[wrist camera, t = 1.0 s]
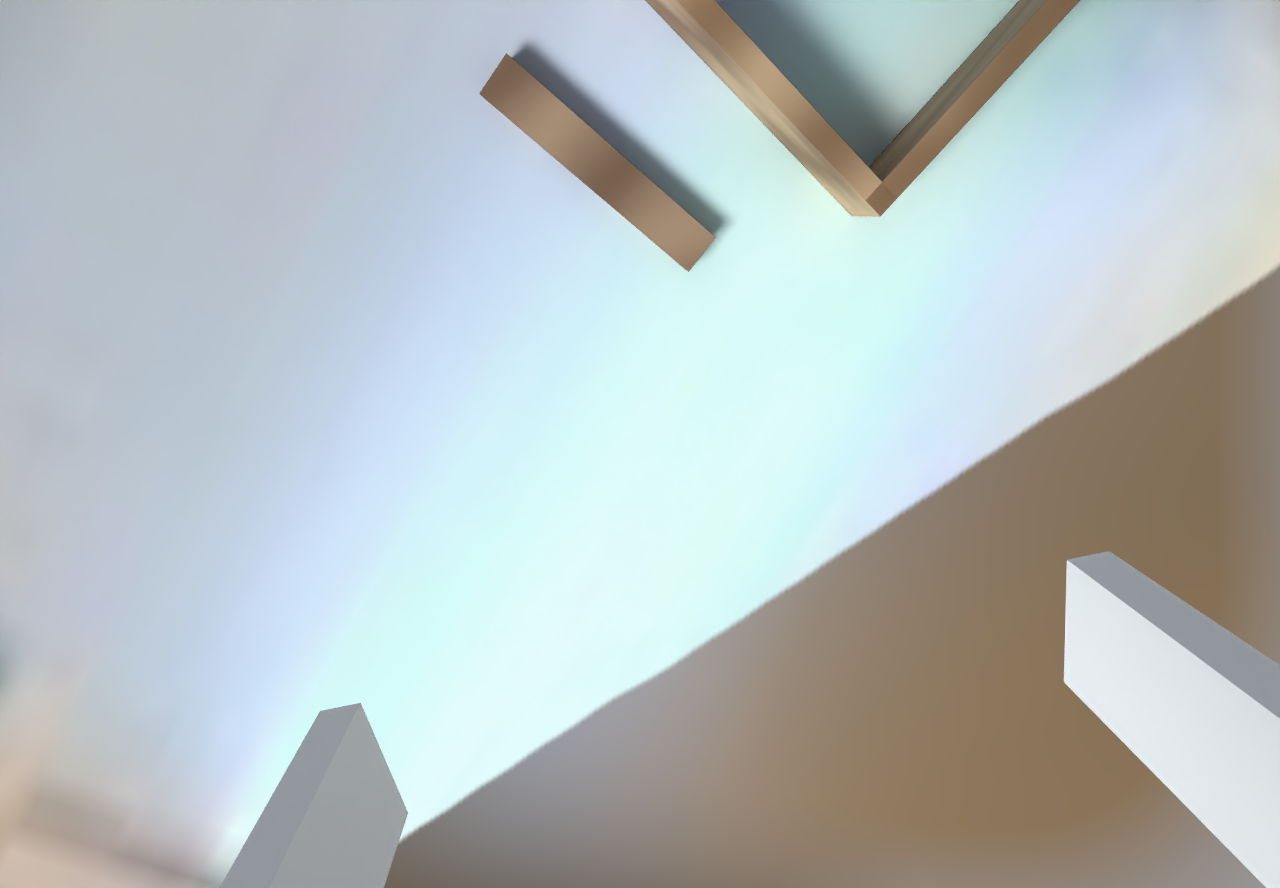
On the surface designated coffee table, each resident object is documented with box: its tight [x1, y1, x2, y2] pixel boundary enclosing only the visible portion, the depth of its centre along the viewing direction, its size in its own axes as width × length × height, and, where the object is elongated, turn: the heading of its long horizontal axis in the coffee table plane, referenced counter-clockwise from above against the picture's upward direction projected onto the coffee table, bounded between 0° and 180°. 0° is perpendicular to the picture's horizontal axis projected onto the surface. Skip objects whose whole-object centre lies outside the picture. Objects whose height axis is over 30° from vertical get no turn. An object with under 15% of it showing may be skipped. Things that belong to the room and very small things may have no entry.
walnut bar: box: [480, 53, 716, 272], centre depth 31 cm, size 12×2×2 cm, turn 51°
